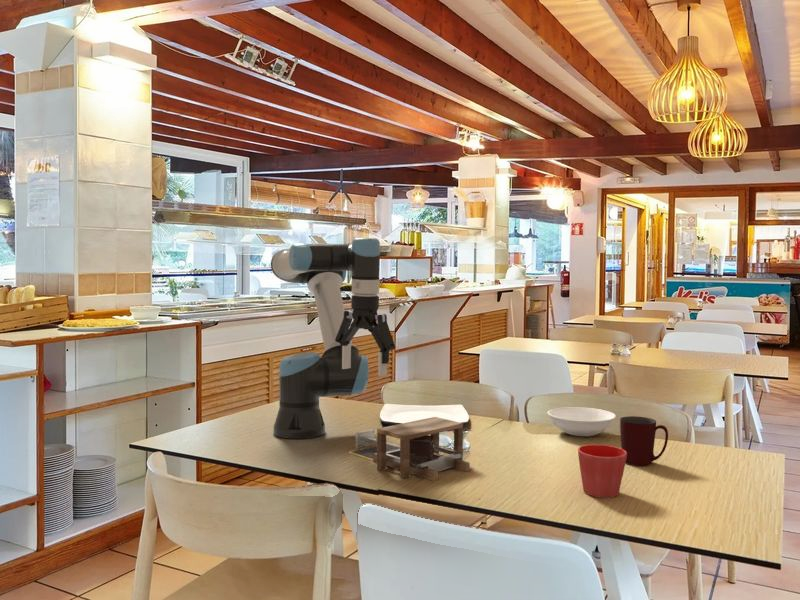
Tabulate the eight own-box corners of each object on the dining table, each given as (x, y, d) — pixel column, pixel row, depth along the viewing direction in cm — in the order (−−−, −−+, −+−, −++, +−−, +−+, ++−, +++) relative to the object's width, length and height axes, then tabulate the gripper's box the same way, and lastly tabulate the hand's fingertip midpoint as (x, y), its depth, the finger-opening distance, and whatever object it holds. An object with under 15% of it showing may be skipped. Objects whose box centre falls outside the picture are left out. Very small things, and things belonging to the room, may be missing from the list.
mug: (671, 463, 195) (672, 420, 194) (661, 471, 188) (663, 427, 187) (625, 455, 202) (626, 414, 201) (614, 463, 194) (615, 420, 194)
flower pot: (636, 494, 169) (637, 452, 169) (602, 503, 163) (603, 459, 163) (600, 482, 178) (601, 441, 177) (566, 490, 172) (567, 448, 172)
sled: (341, 452, 201) (341, 435, 201) (385, 442, 212) (385, 426, 212) (417, 477, 180) (417, 457, 179) (463, 464, 191) (463, 446, 190)
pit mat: (348, 452, 202) (348, 451, 202) (381, 445, 210) (381, 444, 210) (372, 460, 195) (372, 459, 195) (406, 452, 203) (406, 451, 203)
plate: (472, 431, 229) (472, 422, 229) (377, 430, 229) (377, 421, 229) (465, 411, 257) (465, 403, 257) (381, 410, 258) (381, 402, 258)
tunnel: (361, 464, 192) (361, 424, 191) (418, 450, 205) (419, 413, 205) (422, 484, 175) (422, 440, 175) (480, 467, 189) (480, 427, 189)
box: (430, 470, 187) (430, 441, 186) (406, 468, 188) (406, 439, 188) (434, 463, 193) (434, 435, 192) (410, 462, 194) (411, 434, 194)
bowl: (591, 425, 237) (591, 405, 237) (629, 440, 218) (630, 418, 218) (534, 429, 231) (535, 408, 231) (569, 445, 212) (569, 422, 212)
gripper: (323, 292, 211) (322, 367, 213) (390, 299, 195) (389, 380, 197) (342, 290, 216) (341, 364, 218) (409, 297, 200) (407, 376, 202)
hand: (364, 372), depth 208 cm, fingers open, 13 cm apart
